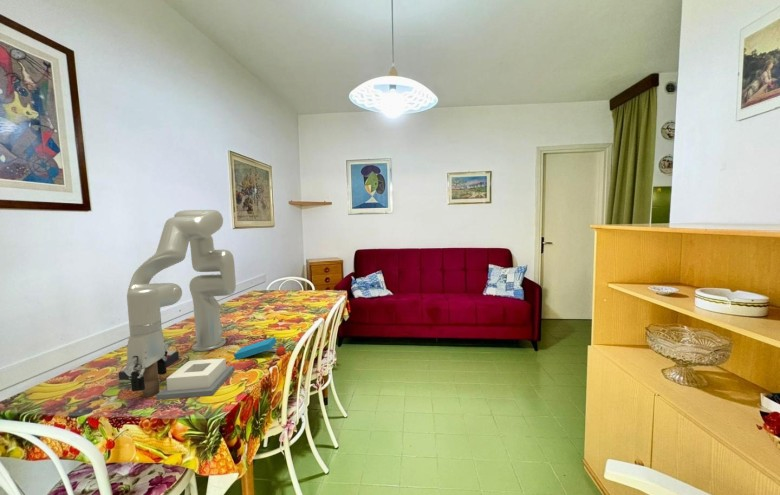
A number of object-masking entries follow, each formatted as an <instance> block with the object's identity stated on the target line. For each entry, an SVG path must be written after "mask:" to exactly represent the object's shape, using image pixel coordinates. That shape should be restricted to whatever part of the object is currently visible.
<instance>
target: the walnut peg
mask: <svg viewBox="0 0 780 495" xmlns="http://www.w3.org/2000/svg"><path fill="white" fill-rule="evenodd" d="M140 366H142V365H140ZM143 376H144V383H145V389H144V390H142V397H143V398H144V399H145V398H150V397H154V396H156V395H157V394H158V393H159V392H160V381H159V375H158V367H157V361H156V362H155V363H153V364H152V365H150V366H149V367H147V368H145V370H144V372H143V375H142V377H143Z"/></svg>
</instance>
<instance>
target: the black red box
mask: <svg viewBox="0 0 780 495" xmlns="http://www.w3.org/2000/svg"><path fill="white" fill-rule="evenodd" d="M167 352H168V353H167V356H166V358H167V360H166V361H165V362H166V369H167V368H168V367H169V366H170V365H172V364H174V363H175V362H177V361H178V360H180V356H179V355H180V354H179V351H178V350H167ZM138 367H140V366H138ZM139 371H140V370H136V372H137V373H139ZM118 378H119V380H121V381H123V380H130V379H129V377H127V376H126V373H125V372H124V368H122V369H120V371H118Z"/></svg>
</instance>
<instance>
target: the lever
mask: <svg viewBox="0 0 780 495" xmlns="http://www.w3.org/2000/svg"><path fill="white" fill-rule="evenodd" d="M276 344H277V339H276V337H275V336H274V337H272V338H271V337H270V338H267V339H265V340H262V341H261V340H260V341H258V342H255V343H252V344H249V345H246V346H245V345H244V346H243V347H241V348H240V349H238V350H237V351H236V352H235V353H234V354H233V356H234V359H235V360H241V359H244V358H247V357H251V356H253V355H256V354H261V353H263V352H275V353H276V354H277V355H279V356H282V355H284V354H285V353H286V347H285V346H282V345H281V346H279V347H277V348H274V346H275V345H276Z"/></svg>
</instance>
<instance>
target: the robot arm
mask: <svg viewBox="0 0 780 495" xmlns="http://www.w3.org/2000/svg"><path fill="white" fill-rule="evenodd" d="M223 224H224V218H223V215H222V213H221V212H220V211H218V210H215V209H187V210H185V209H184V210H179V211H176V213H175V214H174V215H173V217H170V218H168V219H167V220H166V221H165V223H164V225H163V229H162V232H161V235H160V237H159V238H160V239H159V242H158V245H157V248H156V251H155V253H154V254H153V255H152V256H150V257H149V258H148V259H147V260H145V261H144V262H143V263H142V264H141V265H140V266H139V267H138V268H137V269H136V270H135V271H134V272H133V274H132V276H131V278H130V279H131V280H130V282H129V285H128V289H127V294H126V303H127V314H128V326H129V328H128V329H129V337H128V340H127V349H126V364H127V365H126V366H125V367H124V368H123V369H124V372H125V373H126V376H127V377H129V379H128V380H130V384H131V391H132V392H140V391H142V390H144V389H145V383H144V376H143V377H142V375H143V372H144V370H145V368H147V367H149V366H150V365H152V364H153V363H155V362H156V361H157V367H158V376H159V375H166V374H167V368H166V362H165V361H166V360H167V358H166V356H167V353H168V352H167V351H169V350H168V349H169V344H166V343H165V338H164V333H163V330H162V329H163V327H162V316H161V308H162V307H167V306H168V307H169V306H172V305H174V304H177V303H178V302H179V301H180V300H181V298H182V296H183V289H182V288H181V286H180V285H178V284H177V283H173V282H160V283H158V282H156V283H150V282H151V280H152V279H153V278H154V277H155V276H156V275H157V274H158V273H160V272H162V271H163V270H166V269H167V268H170V267H172V266H175V265H176V264H179V263H181V262H182V261H185V259H186V255H187V252H188V251H187V250H188V247H189V248H190V257H191V258H190V259H191V266H192V269H193V270H194V271H195V272H200V273H212V272H213V273H214V272H215V273H216V272H219V273H217V274H213V273H212V274H200V275H196V276H194V277H192V278H191V280H190V281H189V284H188V285H189V286H188V287H189V292H190V295H191V298H192V305H193V314H194V318H193V319H194V328H195V329H194V330H195V331H194V332H195V341H196V343H194V344H193V345H192V346H191V348H192V350H193V351H194V352H206V351H212V350H216V349H218V348H220V347H223V346H224V345H225V344H226V339H225V338H224V337H222V335H223V334H224V332H225V331H224V329H222V326H221V322H222V321H221V310H220V303H219V301H218V300H217V299H216V297H224V296H231V295H233V294H234V293H235V291H236V287H237V285H236V284H237V282H236V268H235V260H234V259H235V258H234V256H233V253H232V251H230V250H228V249H215V247H214V246H215V244H214V238H213V236H212V235H213V234H215V233H217V232H218V231H219V230H221V229H222V226H223ZM140 365H142V366H140ZM138 366H140V367H138ZM136 370H140V371H139V373H137V372H136ZM142 392H143V391H142Z"/></svg>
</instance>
